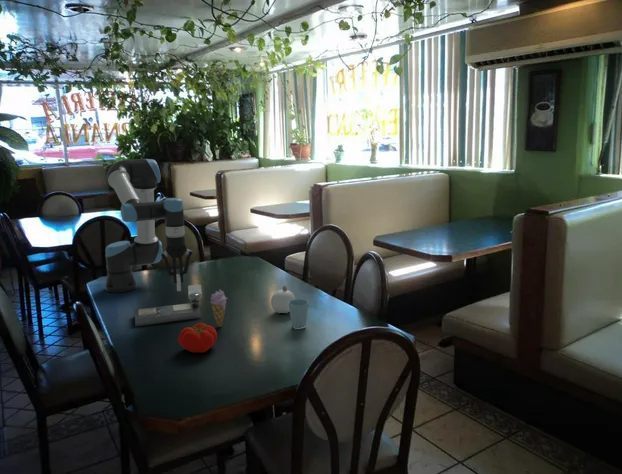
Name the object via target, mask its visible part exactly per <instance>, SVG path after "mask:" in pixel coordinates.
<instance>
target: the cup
mask: <svg viewBox="0 0 622 474" xmlns="http://www.w3.org/2000/svg"><path fill="white" fill-rule="evenodd" d="M308 307H309V301H308V300H306V299H303V298H302V299H301V298H297V299H296V298H295V300H291V301H289V309H290V312H289V315H290V323H291V327H292V326H293V327H295V328H301V327H304V326H306V327H307V319H308V309H309V308H308Z"/></svg>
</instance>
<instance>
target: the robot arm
mask: <svg viewBox="0 0 622 474" xmlns="http://www.w3.org/2000/svg"><path fill="white" fill-rule="evenodd" d="M161 176H162V175H161V171H160V168H159V165H158V163H157V161H156V160H155V159H152V158H151V159H150V158H140V159H137V158H136V159H122V160H118V161H116V162H114V163H112V165H111V166H110V167H109V168H108V170H107V174H106V180H107V183H108V185H109V186H110V187H111V188H113V189H114V191H115V193H116V195H117V197H118V199H119V201H120V203H121V207H120V215H121V216H120V217H121V220H122V221H123V222H125V223H136V235H137V236H135V237H134V240H133V243H131V241H130V240H121V241H116V242H112V243H110V244H108V245H107V246H106V247H105V259H106V260H105V261H106V271H107V275H106V281H105V283H104V289H105V292H107V293H113V294H115V293H118V294H119V293H126V292H130V291H134V290H135V289H137V287H138V281H137V279H136V278H135V274H134V273H133V267H138V266H145V265H146V266H147V265H153V264H158V263H160V261H161V260H162V259H163V260H164V263H165V266H166V269H167V272H168V275H169V276H172V277H173V283H174V284H176V291H177V292H182V285H181V284H182V283H183V282H184V275H187V274H188V269H189V264H190V258H191V256H192V254H193V251H192V250H191V249H188V247H187V246H186V236H185V234H186V232H185V218H184V217H185V216H184V208H185V206H184V203H183V202H184V201H183V200H182V198H178V197H170V198H169V197H168V198H165V199H162V200H158V201H155V189H157V188H158V184H159V183H161V178H162V177H161ZM155 220H164V223H165V235H166V237H165V238H166V248H165V250H164V251H163V244H162V242H161V240H159V237H157V236H156V229H155V228H156V227H155V226H156V224H155V223H156V222H155ZM168 255H169V256H170V258H171V260H172V261H171V263H172V269H171V266H170V264H169V260H168V258H167V257H168ZM184 255H186V258H185V260H184V261H185V262H184V267H183V256H184ZM177 258H178V272H177ZM177 273H178V274H177Z"/></svg>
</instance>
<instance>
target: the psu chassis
mask: <svg viewBox="0 0 622 474" xmlns="http://www.w3.org/2000/svg"><path fill="white" fill-rule="evenodd" d="M201 318H202V312H201V308H200V300H199V301H191V302H188V303H179V304H178V303H177V304H173V305H172V304H171V305H164V306H153V307H145V308H138V309H134V324H135V327H140V326H149V325H155V324H163V323H171V322H179V321H187V320H193V319H201Z"/></svg>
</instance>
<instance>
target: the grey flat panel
mask: <svg viewBox="0 0 622 474" xmlns="http://www.w3.org/2000/svg"><path fill="white" fill-rule="evenodd" d="M187 288H188V289H187V291H188V295H187V296H188V299H190V301H191V302H192V301H199V302H200V300H201V299H202V298H203V296H202V295H203V292H202V285H201V284H195V285H194V284H193V285H192V284H191V285H188V287H187Z"/></svg>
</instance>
